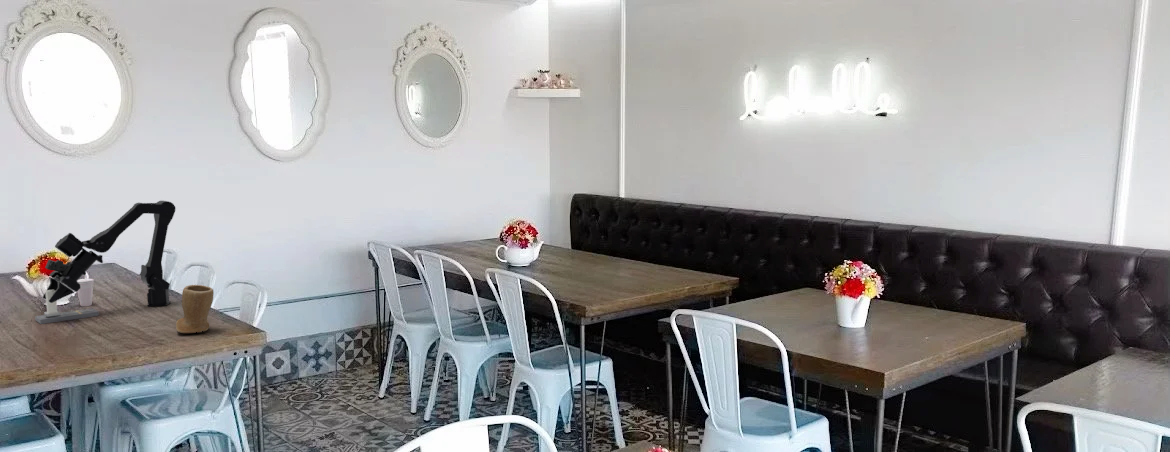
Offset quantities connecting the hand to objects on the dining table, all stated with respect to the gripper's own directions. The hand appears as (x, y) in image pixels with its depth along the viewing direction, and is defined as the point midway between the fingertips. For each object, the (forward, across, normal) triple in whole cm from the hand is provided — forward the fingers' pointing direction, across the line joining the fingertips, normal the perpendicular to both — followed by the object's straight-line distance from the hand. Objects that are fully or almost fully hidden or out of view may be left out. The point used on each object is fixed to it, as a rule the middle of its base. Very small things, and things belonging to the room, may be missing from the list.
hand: (46, 300), depth 298 cm
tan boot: (-17, +53, +28) cm, 62 cm away
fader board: (+1, 0, +9) cm, 9 cm away
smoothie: (-6, -20, +17) cm, 27 cm away
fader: (+3, 0, +5) cm, 6 cm away
